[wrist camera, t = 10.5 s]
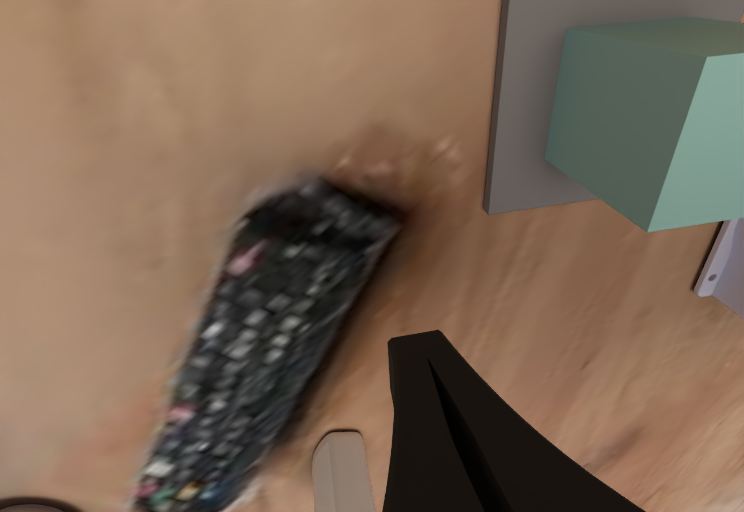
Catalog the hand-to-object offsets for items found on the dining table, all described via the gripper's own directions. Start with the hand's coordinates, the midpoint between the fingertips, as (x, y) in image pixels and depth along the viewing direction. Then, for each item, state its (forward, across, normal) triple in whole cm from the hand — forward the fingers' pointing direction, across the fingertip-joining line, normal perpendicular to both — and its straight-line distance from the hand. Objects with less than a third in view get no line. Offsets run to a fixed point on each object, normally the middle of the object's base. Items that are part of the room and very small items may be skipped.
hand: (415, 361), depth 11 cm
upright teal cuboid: (+9, -11, -4) cm, 15 cm away
